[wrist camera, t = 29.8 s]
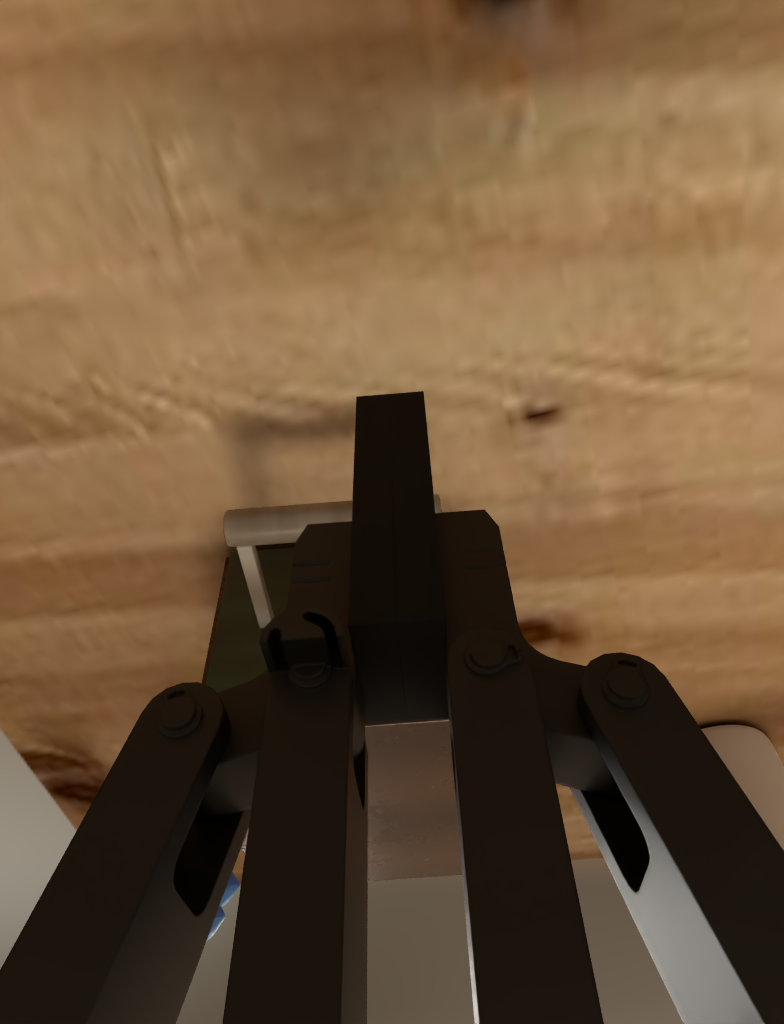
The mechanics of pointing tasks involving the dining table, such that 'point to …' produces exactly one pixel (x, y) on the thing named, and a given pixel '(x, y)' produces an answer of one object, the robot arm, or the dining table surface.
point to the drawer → (260, 582)
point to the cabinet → (404, 795)
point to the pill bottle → (753, 770)
